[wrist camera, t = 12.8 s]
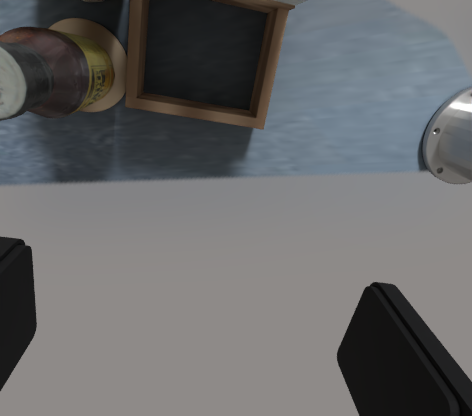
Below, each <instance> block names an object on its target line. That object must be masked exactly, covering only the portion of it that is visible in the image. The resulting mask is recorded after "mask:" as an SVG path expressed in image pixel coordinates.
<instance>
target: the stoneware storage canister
mask: <svg viewBox="0 0 472 416" xmlns="http://www.w3.org/2000/svg"><path fill="white" fill-rule="evenodd" d="M81 1H85V2H101V1H105V0H81Z"/></svg>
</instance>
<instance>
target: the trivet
mask: <svg viewBox="0 0 472 416" xmlns="http://www.w3.org/2000/svg"><path fill="white" fill-rule="evenodd" d="M48 29H52V30H57V31H61V32H65V33H70V34H75V35H79V36H83V37H86V38H89V39H92V40H94V41H95V42H97V43H98V44H99V45H100V46H101V47H102V48H103V49H104V50H106V52H107V53H108V55H109V57H110V59H111V61H112V63H113V68H114V72H115V78H114V82H113V86H112V88H111V90H110V91H109V93H108V94H107V95H106V96H105V97H104V98H102V99H101V100H99V101H97V102H95V103H93V104H91V105H89V106H87V107H85V108H83V109H81V110H79V111H84V112H99V111H103V110H106V109H108V108H110V107H112V106H113V105H115V104H116V103H117V102H118V101H119V100H120V99H121V98H122V97H123V96H124V94H125V92H126V78H127V55H126V52H125V50H124V48H123V47H122V45H121V43H120V42H119V41H118V39H117V38H116V37H115V36H114V35H113V34H112V33H111V32H110V31H109V30H107V29H106V28H105V27H103V26H101V25H100V24H98V23H95V22H93V21H90V20H86V19H81V18H69V19H64V20H61V21H59V22H57V23H55V24H53V25H52V26H51V27H49V28H48Z"/></svg>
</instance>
